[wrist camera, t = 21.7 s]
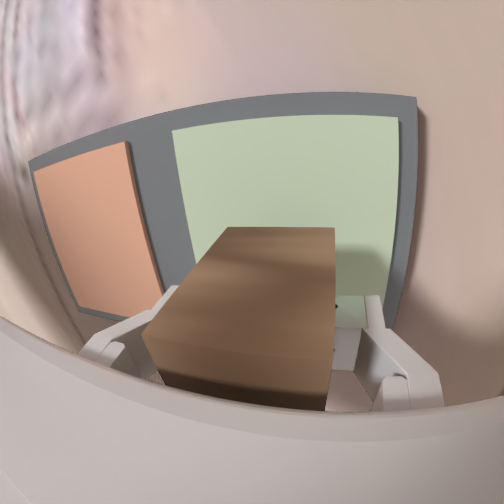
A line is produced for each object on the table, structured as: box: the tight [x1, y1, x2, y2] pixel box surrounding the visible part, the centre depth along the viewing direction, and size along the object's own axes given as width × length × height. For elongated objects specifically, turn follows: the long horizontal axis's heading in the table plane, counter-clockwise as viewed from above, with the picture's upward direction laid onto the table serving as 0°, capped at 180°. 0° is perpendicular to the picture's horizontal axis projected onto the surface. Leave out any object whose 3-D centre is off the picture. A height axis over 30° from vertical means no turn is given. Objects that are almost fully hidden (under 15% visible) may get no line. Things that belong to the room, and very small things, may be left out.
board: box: [28, 92, 418, 330], centre depth 16 cm, size 25×14×1 cm, turn 96°
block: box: [141, 227, 336, 411], centre depth 9 cm, size 4×4×6 cm
